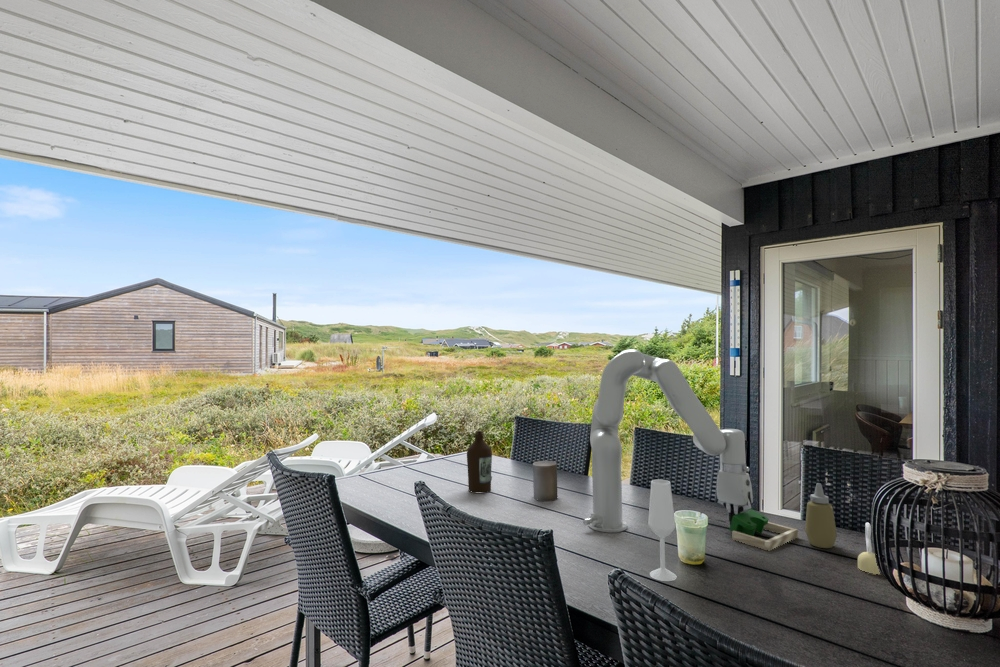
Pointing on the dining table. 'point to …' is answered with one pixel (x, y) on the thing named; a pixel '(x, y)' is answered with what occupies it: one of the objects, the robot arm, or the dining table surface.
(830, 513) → the squeeze bottle
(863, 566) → the pale yellow handled piece
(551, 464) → the pillar candle
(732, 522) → the clamp
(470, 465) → the olive oil
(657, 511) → the champagne flute
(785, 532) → the keeper bracket
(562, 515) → the dining table surface
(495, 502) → the dining table surface
